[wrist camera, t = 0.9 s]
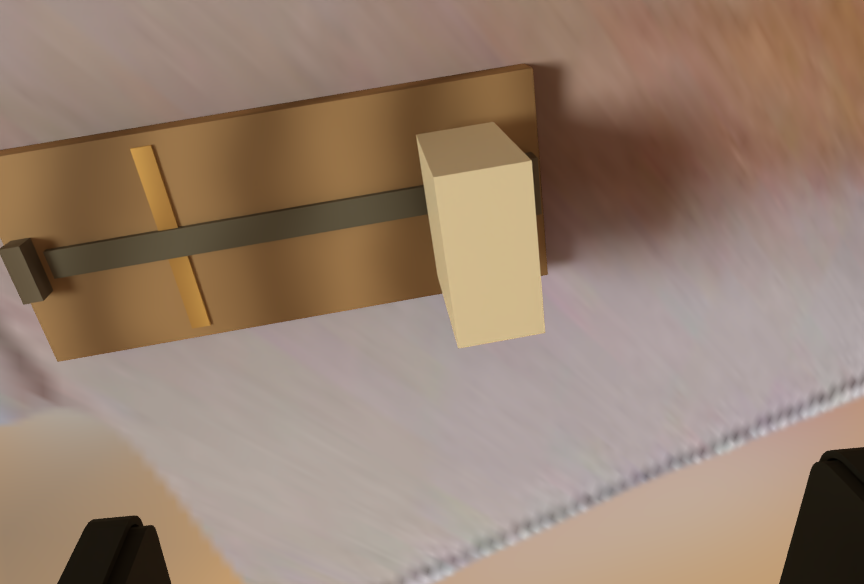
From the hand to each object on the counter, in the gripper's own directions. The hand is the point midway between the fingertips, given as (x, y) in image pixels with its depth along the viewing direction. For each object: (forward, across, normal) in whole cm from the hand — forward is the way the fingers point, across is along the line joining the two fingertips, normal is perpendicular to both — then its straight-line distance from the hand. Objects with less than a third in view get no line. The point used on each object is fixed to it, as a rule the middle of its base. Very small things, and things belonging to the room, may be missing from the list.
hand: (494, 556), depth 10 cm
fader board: (+21, +5, +2) cm, 22 cm away
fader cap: (+19, -2, +1) cm, 19 cm away
